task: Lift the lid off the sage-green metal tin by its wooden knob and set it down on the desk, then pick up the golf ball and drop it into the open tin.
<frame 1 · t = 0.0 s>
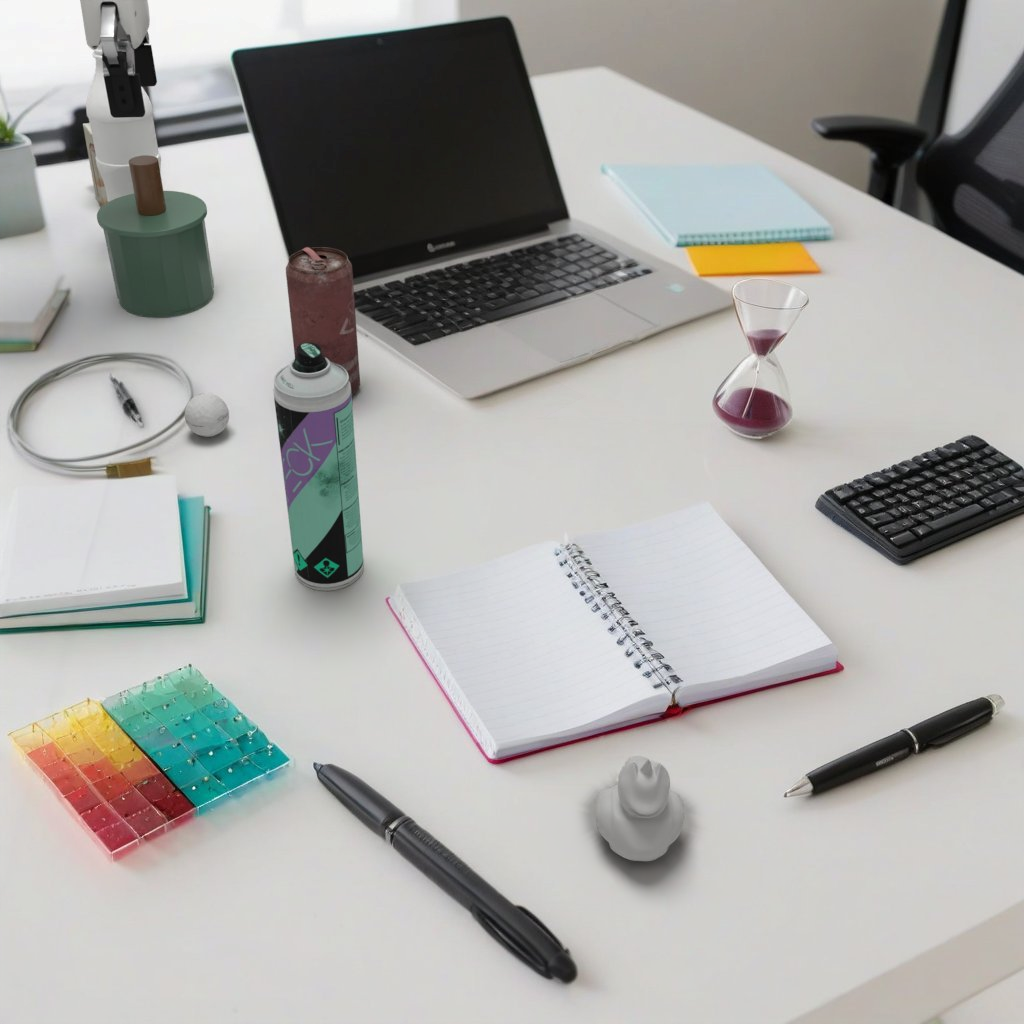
hand: (135, 100, 116), 22 cm above the table, tool pointing down, fingers open, 9 cm apart
can: (328, 390, 115), on the table
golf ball: (210, 434, 108), on the table
spray can: (329, 570, 92), on the table
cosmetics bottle: (120, 204, 151), on the table
tin: (167, 296, 130), on the table
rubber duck: (635, 835, 72), on the table
tin lid: (152, 215, 124), point 9 cm above the table, touching tin
water bottle: (145, 250, 140), on the table
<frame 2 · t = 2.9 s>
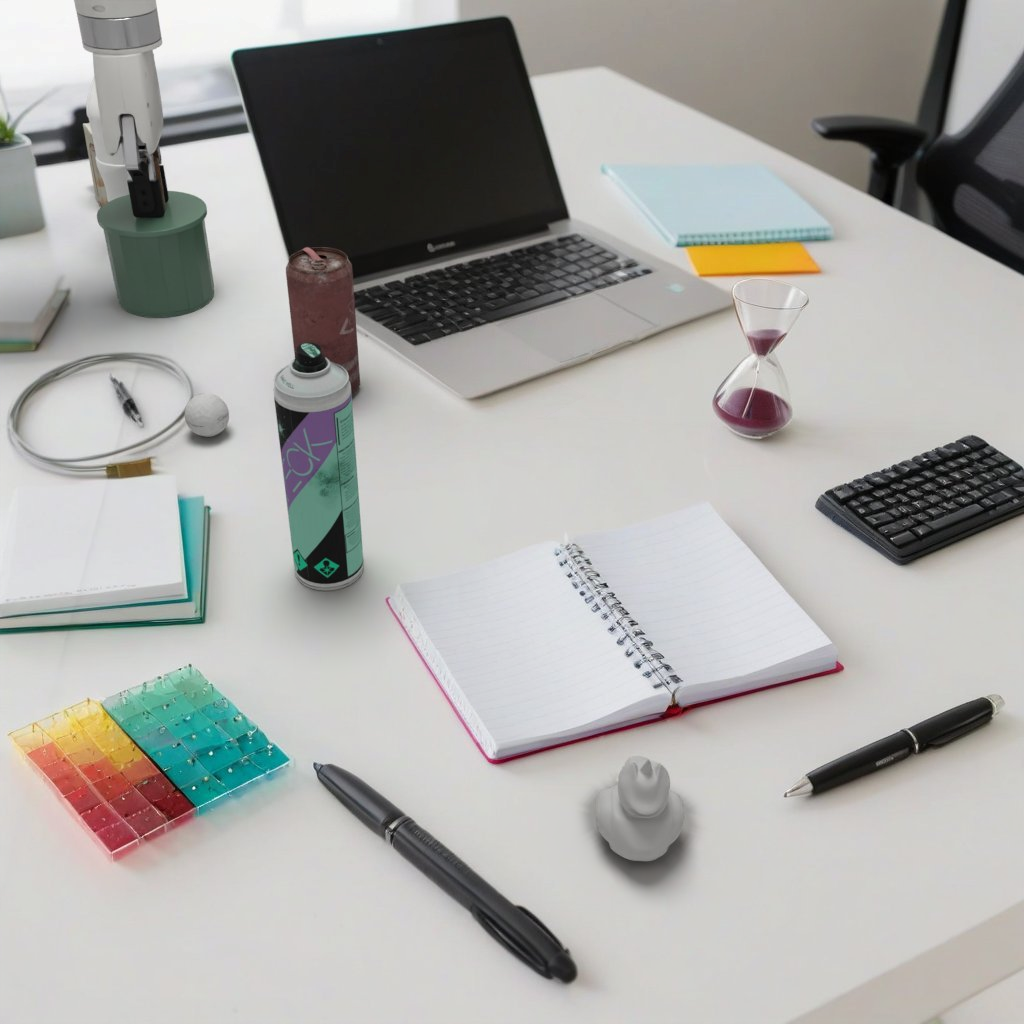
hand: (151, 207, 124), 10 cm above the table, tool pointing down, fingers closed on tin lid, 3 cm apart
tin lid: (152, 215, 124), point 10 cm above the table, touching gripper, tin
everything else where it was.
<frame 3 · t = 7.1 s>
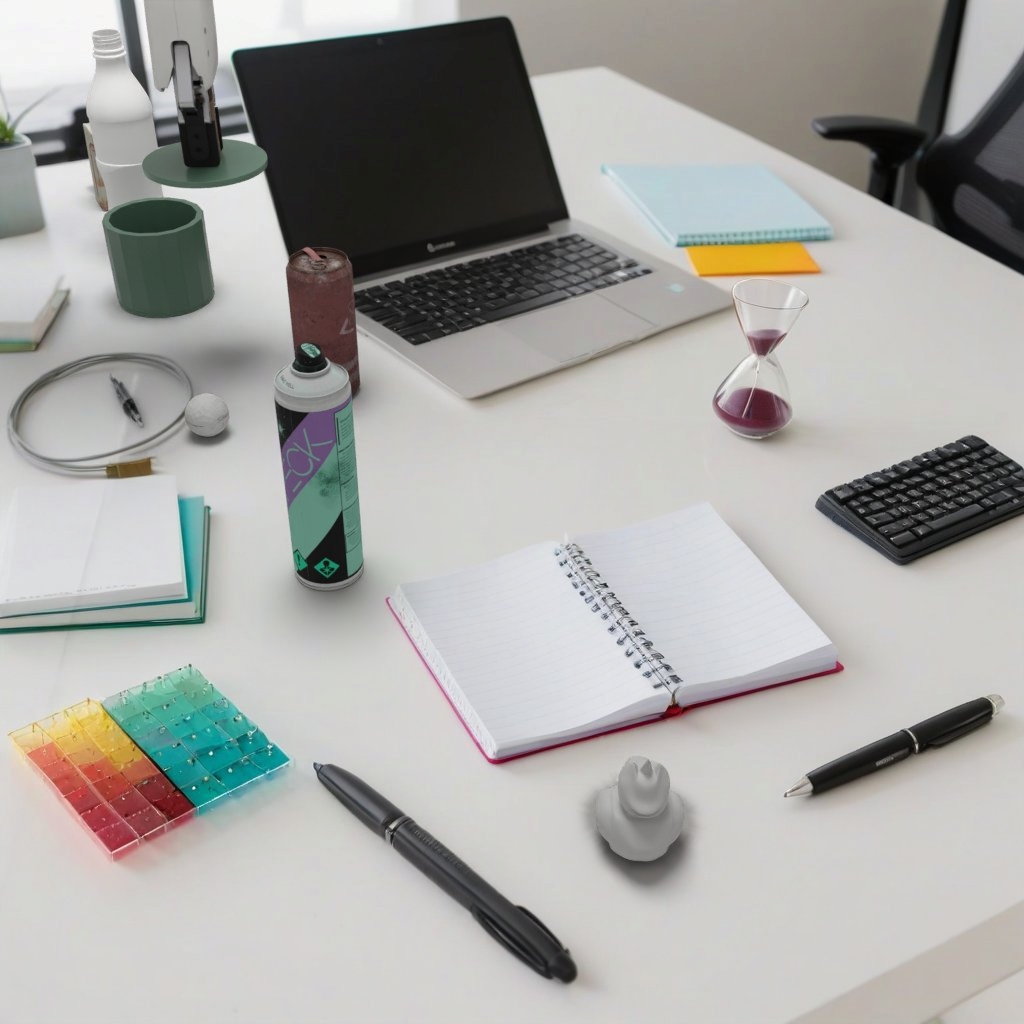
hand: (204, 156, 107), 21 cm above the table, tool pointing down, fingers closed on tin lid, 3 cm apart
tin lid: (206, 165, 108), point 20 cm above the table, touching gripper
everything else where it was.
when the fingers open (1 cm above the table, at t = 11.4 s): tin lid stays where it is, point 1 cm above the table.
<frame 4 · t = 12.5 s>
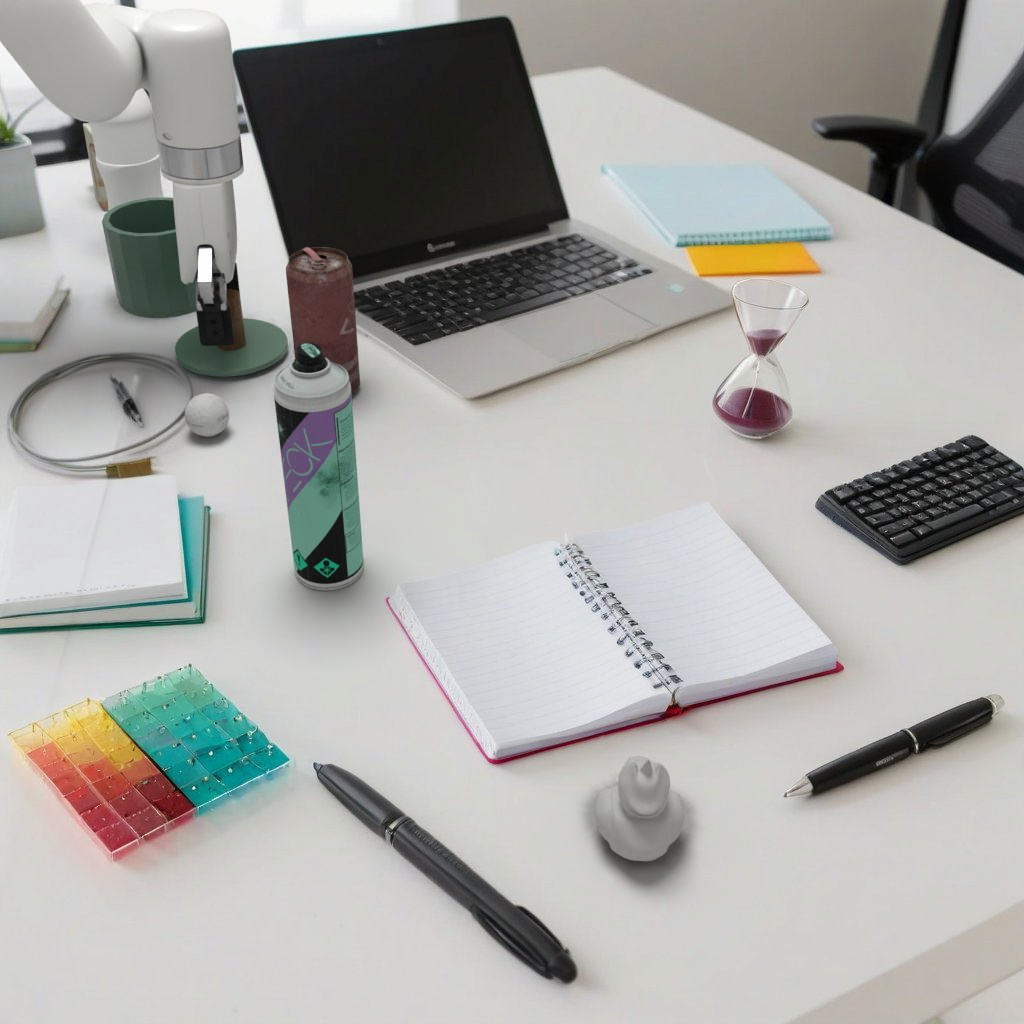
hand: (221, 321, 117), 4 cm above the table, tool pointing down, fingers open, 9 cm apart
tin lid: (232, 348, 119), point 1 cm above the table
everything else where it was.
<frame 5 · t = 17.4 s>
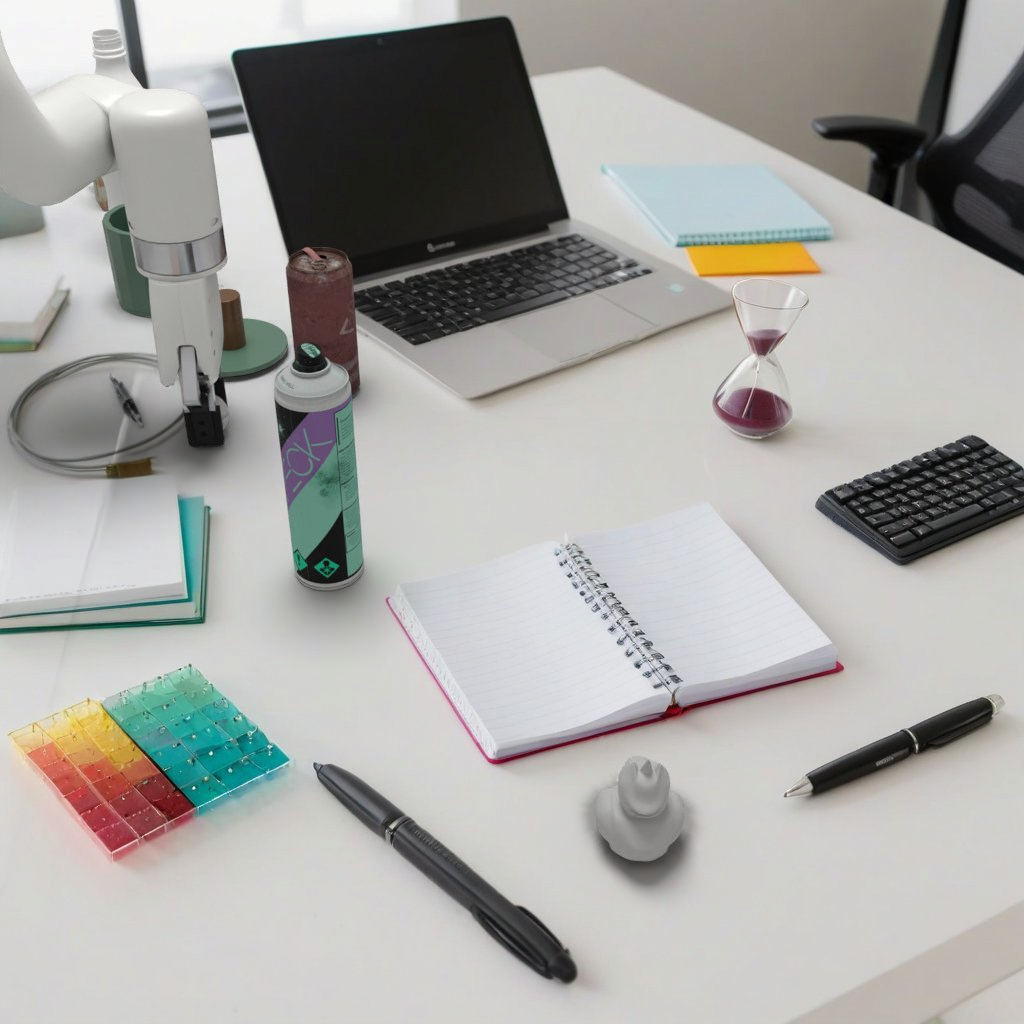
hand: (209, 428, 107), 1 cm above the table, tool pointing down, fingers closed on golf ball, 4 cm apart
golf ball: (210, 434, 108), on the table, touching gripper
everything else where it was.
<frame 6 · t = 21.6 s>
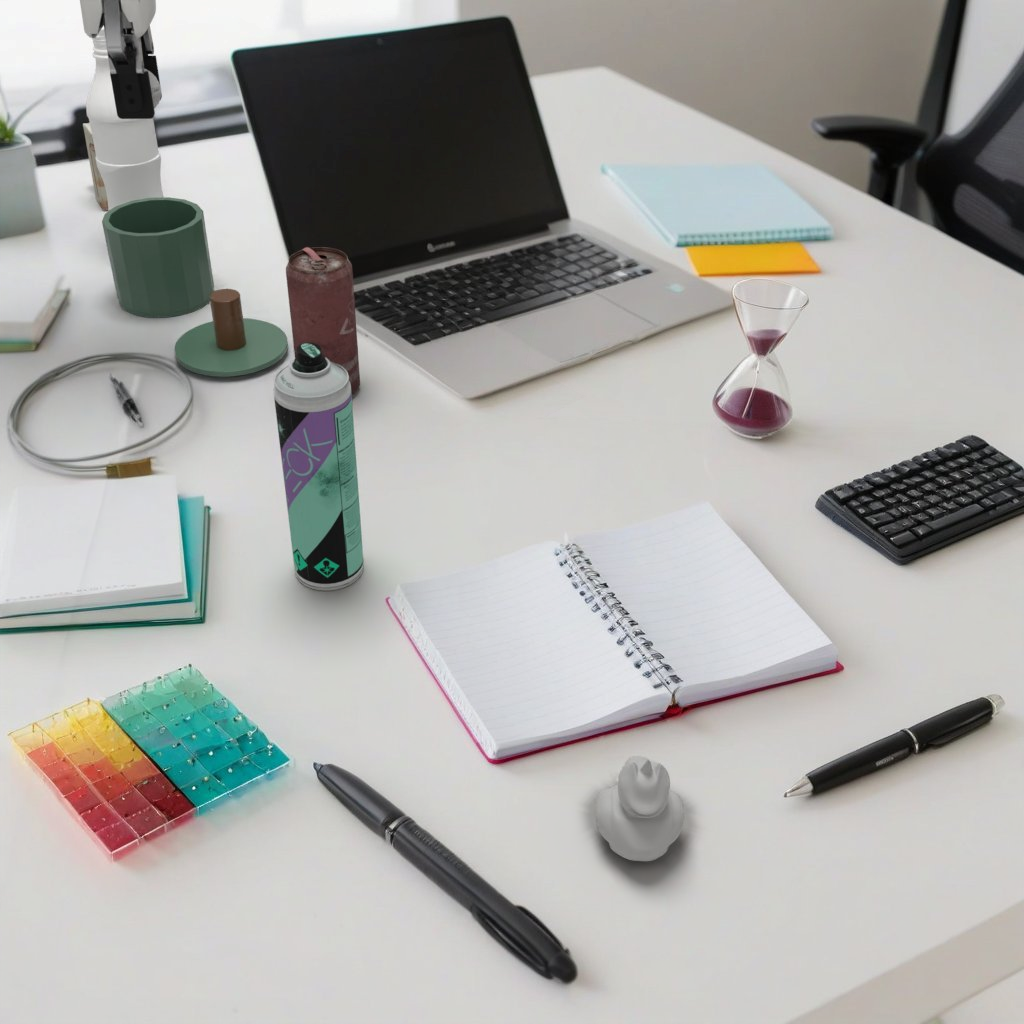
hand: (140, 106, 105), 25 cm above the table, tool pointing down, fingers closed on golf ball, 4 cm apart
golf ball: (142, 114, 106), point 24 cm above the table, touching gripper
everything else where it was.
when the fingers open (10 cm above the table, at t = 26.2 s): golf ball drops 8 cm, resting on tin.
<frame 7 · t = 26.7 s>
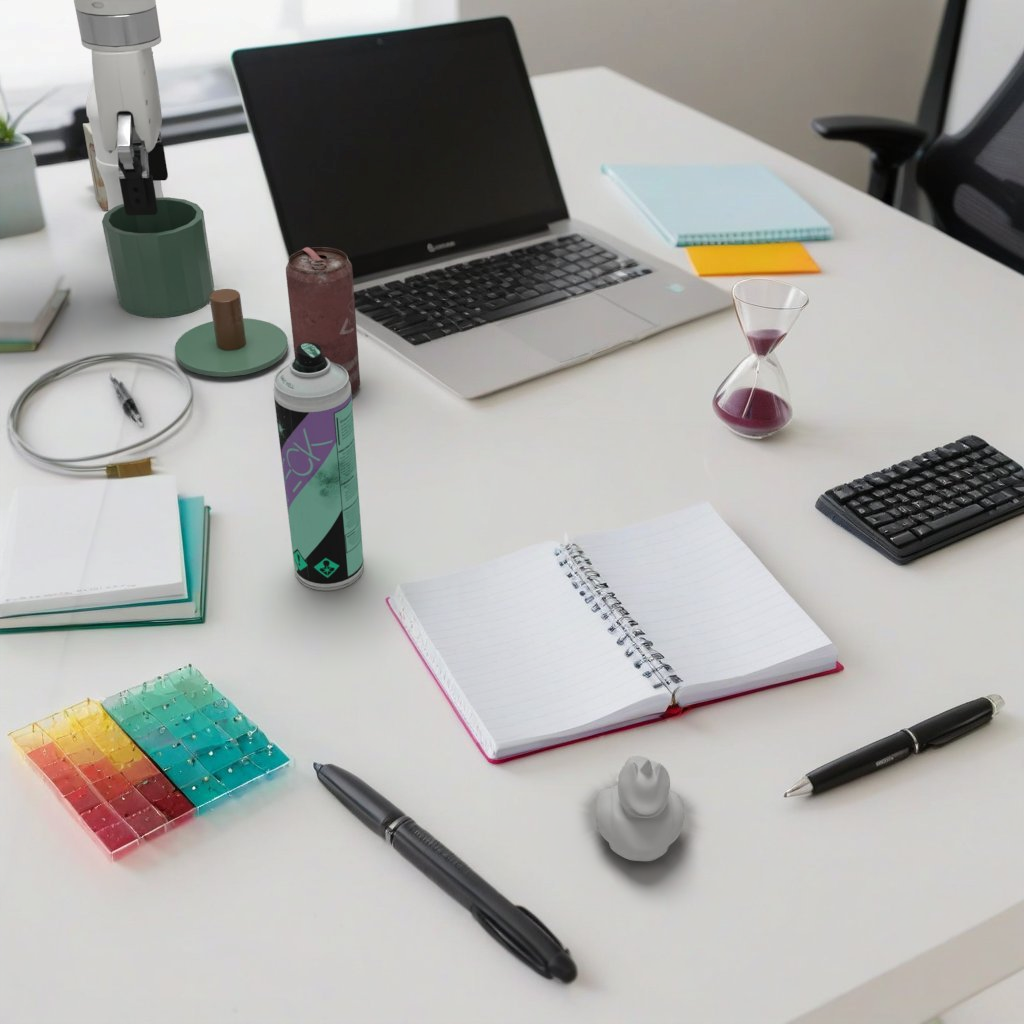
hand: (147, 196, 123), 12 cm above the table, tool pointing down, fingers open, 9 cm apart
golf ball: (166, 284, 128), point 2 cm above the table, touching tin
everything else where it was.
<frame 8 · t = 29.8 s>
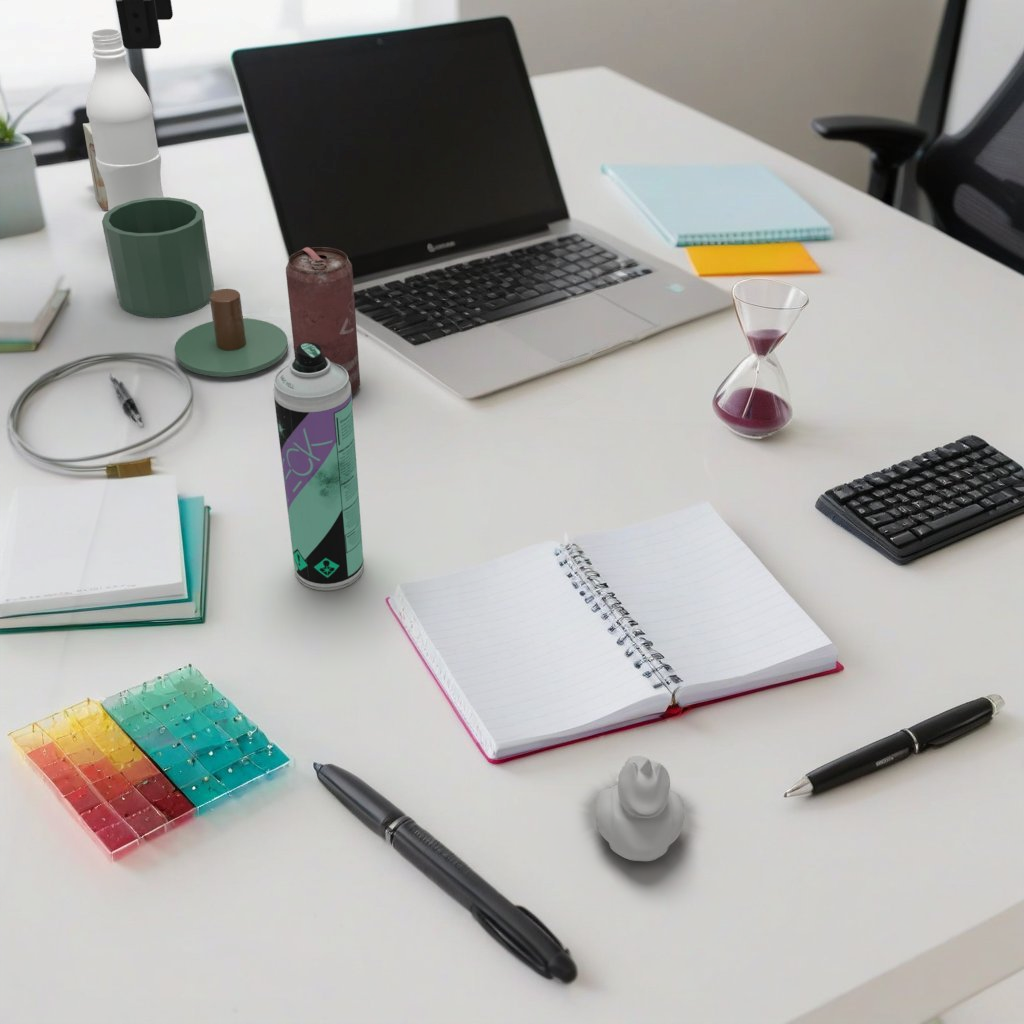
hand: (149, 32, 106), 30 cm above the table, tool pointing down, fingers open, 9 cm apart
nothing on the table moved.
at the end: tin lid inside the target area (0.2 cm from its centre), point 0.6 cm above the table; tin lid tilted 0°; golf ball 0.5 cm off-centre in the tin, point 1.7 cm above the tin's base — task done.
